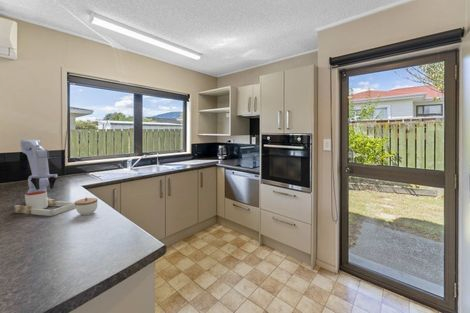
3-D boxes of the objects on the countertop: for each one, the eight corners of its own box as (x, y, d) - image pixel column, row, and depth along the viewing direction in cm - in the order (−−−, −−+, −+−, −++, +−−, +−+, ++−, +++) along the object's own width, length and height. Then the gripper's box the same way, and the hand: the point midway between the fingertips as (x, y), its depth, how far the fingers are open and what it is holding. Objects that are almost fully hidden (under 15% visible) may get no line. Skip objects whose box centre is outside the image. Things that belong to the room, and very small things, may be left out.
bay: (14, 212, 129) (13, 205, 128) (42, 204, 143) (41, 198, 143) (29, 213, 126) (28, 207, 126) (55, 205, 141) (55, 199, 140)
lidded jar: (83, 210, 131) (82, 195, 130) (102, 210, 131) (101, 194, 130) (71, 217, 120) (69, 200, 119) (91, 216, 121) (90, 200, 120)
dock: (31, 214, 126) (30, 208, 125) (57, 205, 140) (57, 201, 140) (51, 215, 122) (51, 210, 122) (76, 207, 137) (76, 202, 136)
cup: (29, 213, 127) (28, 196, 126) (24, 210, 133) (22, 194, 132) (51, 208, 136) (49, 192, 135) (44, 205, 141) (43, 190, 140)
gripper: (25, 169, 135) (27, 191, 136) (52, 168, 139) (54, 189, 140) (32, 168, 142) (34, 188, 143) (58, 167, 146) (60, 187, 147)
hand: (45, 189), depth 142 cm, fingers open, 7 cm apart
